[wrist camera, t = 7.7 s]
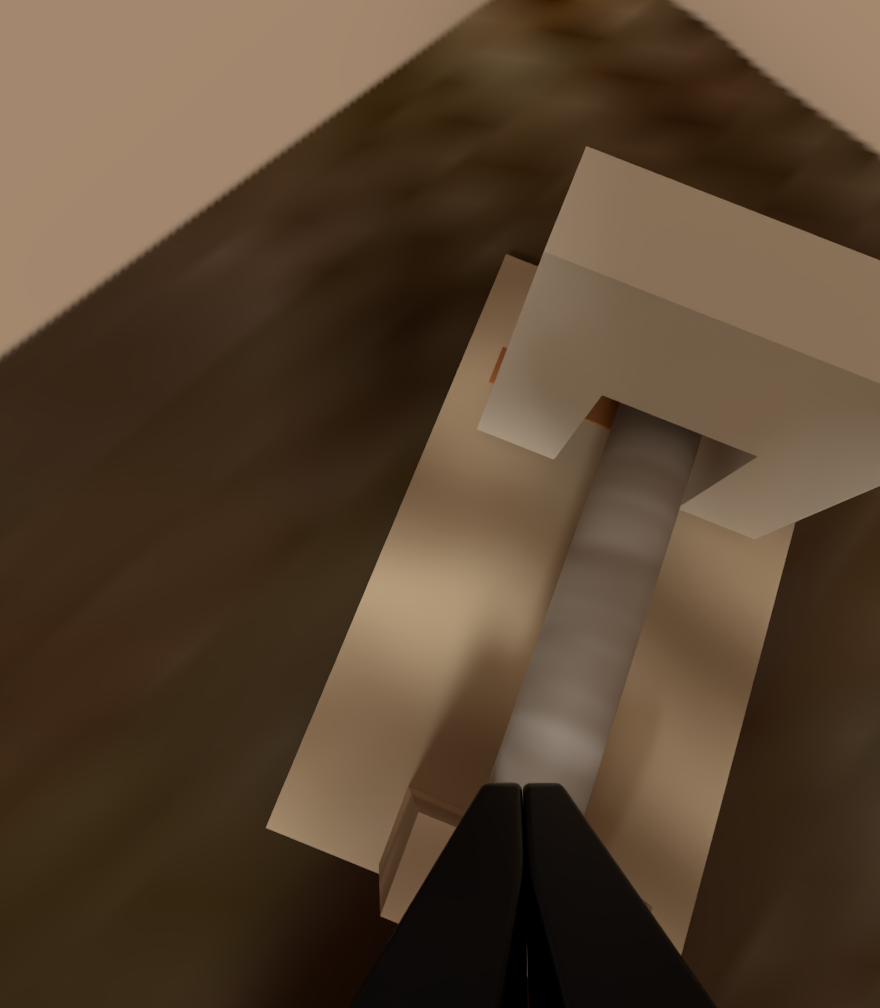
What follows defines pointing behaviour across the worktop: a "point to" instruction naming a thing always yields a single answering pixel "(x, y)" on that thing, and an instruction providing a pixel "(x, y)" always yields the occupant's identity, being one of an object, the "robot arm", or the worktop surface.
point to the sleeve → (702, 344)
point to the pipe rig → (540, 646)
